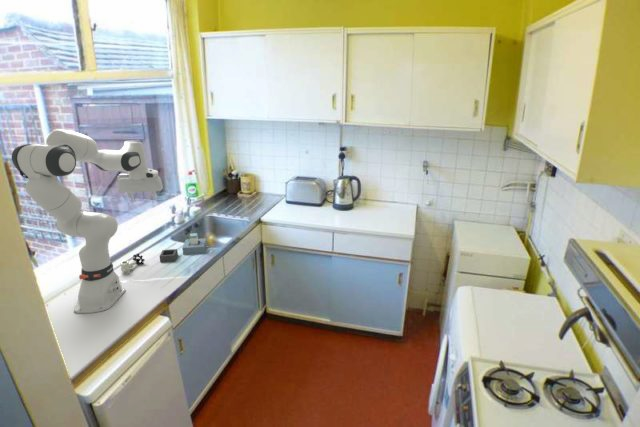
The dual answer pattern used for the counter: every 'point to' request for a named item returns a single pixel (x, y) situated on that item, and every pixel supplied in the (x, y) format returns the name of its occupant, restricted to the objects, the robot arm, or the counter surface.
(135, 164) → the robot arm
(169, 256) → the grey square container
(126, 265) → the valve
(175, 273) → the counter surface
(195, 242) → the plug
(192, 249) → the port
